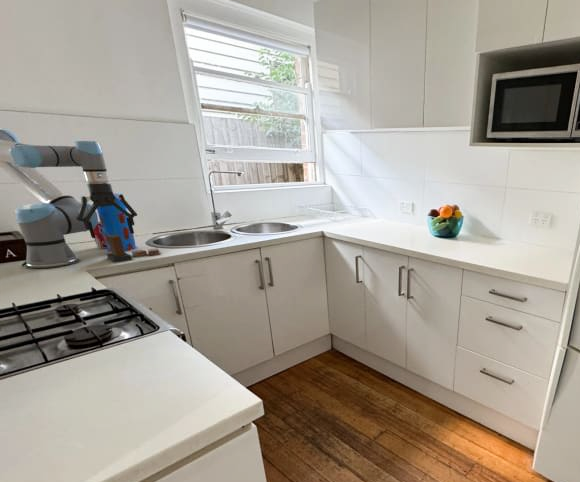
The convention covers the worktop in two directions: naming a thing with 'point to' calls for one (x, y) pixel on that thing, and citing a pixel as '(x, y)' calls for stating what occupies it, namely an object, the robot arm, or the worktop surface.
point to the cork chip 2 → (153, 252)
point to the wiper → (117, 249)
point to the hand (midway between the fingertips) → (113, 235)
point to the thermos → (116, 224)
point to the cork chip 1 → (139, 253)
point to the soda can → (100, 236)
